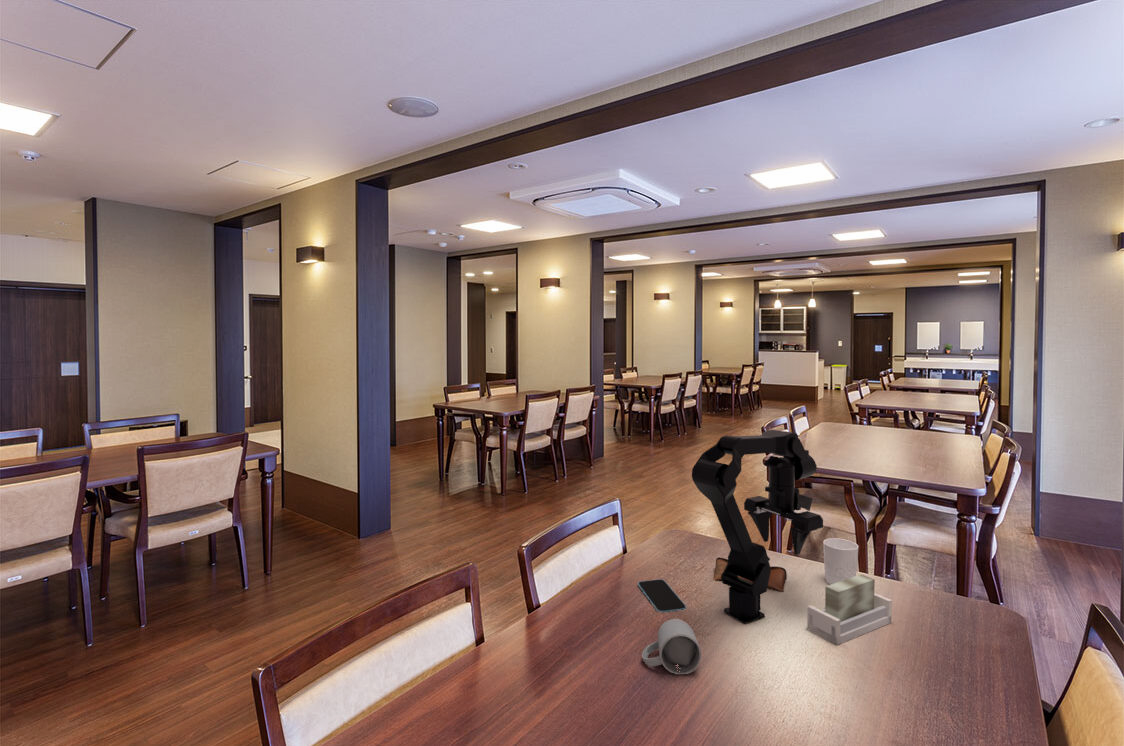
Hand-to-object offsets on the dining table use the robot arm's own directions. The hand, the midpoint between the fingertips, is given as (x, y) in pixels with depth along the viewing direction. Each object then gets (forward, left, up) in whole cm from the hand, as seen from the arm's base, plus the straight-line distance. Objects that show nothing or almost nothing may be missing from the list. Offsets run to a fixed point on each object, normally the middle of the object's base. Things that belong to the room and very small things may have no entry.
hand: (781, 547), depth 131 cm
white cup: (+19, -2, -12) cm, 23 cm away
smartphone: (-25, +14, -13) cm, 31 cm away
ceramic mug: (-40, -9, -12) cm, 43 cm away
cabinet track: (+2, -17, -12) cm, 20 cm away
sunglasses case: (0, +10, -13) cm, 16 cm away
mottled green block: (+2, -17, -10) cm, 20 cm away
